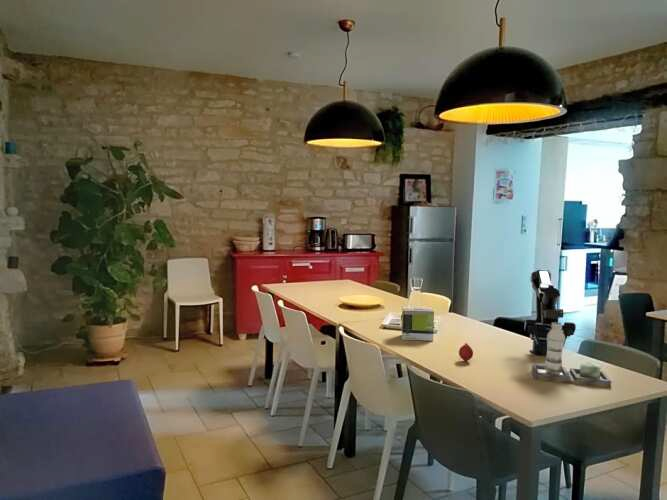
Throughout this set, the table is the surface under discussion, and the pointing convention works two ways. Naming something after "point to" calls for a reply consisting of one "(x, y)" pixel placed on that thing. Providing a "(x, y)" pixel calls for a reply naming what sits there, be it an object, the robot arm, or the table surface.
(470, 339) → the table surface
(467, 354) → the onion
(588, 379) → the grey flat tray
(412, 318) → the tea box
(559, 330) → the plastic bottle
